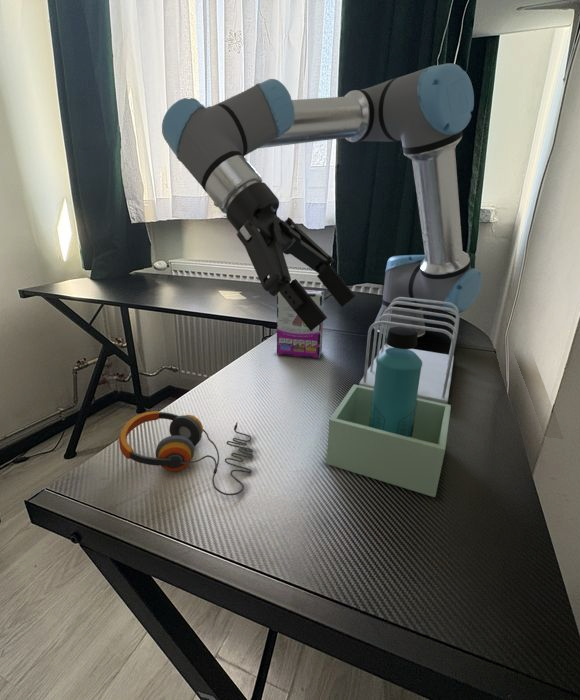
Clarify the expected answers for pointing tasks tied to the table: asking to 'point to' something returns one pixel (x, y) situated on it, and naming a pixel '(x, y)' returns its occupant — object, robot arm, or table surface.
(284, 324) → the candy bar box
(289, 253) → the robot arm
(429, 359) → the file sorter
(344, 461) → the basket
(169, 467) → the headphones
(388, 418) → the beverage bottle
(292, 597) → the table surface
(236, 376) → the table surface
